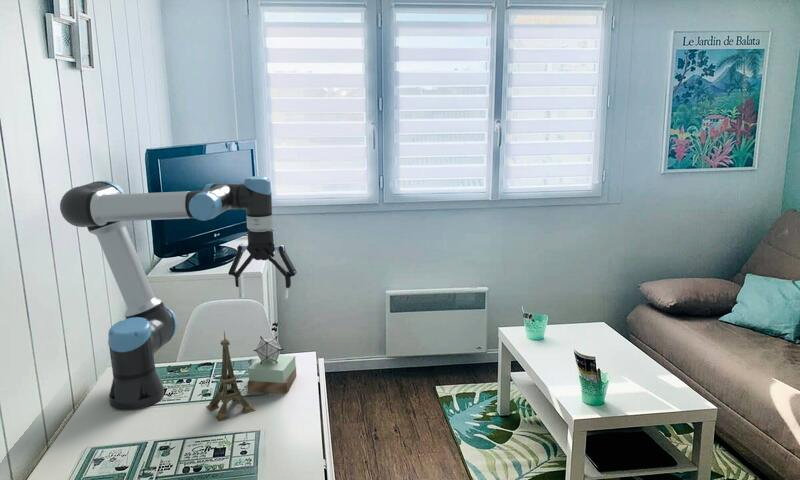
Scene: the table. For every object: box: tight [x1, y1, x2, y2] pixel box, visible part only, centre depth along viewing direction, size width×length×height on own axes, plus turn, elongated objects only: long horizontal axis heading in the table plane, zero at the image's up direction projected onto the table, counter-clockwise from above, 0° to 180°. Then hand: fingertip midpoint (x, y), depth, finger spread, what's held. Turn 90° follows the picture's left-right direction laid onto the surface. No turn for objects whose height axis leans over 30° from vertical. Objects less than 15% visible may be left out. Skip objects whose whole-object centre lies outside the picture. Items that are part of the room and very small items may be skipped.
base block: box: [247, 367, 297, 394], centre depth 202 cm, size 12×12×4 cm
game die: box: [252, 335, 285, 364], centre depth 200 cm, size 9×8×10 cm
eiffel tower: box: [206, 331, 256, 422], centre depth 185 cm, size 11×11×25 cm
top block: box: [247, 354, 297, 383], centre depth 201 cm, size 11×11×4 cm
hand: (263, 297), depth 198 cm, fingers open, 13 cm apart
